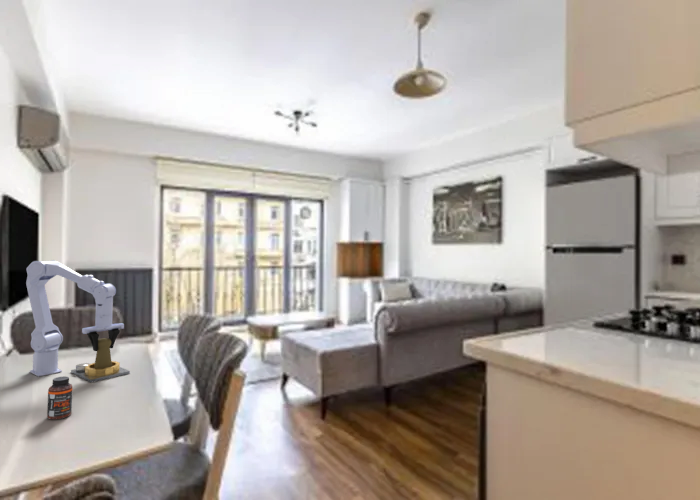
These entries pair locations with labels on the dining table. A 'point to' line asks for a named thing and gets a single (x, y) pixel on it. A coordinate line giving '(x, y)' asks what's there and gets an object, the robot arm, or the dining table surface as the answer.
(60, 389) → the supplement bottle
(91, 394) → the dining table surface
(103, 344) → the cork
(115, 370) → the flanged metal plate
